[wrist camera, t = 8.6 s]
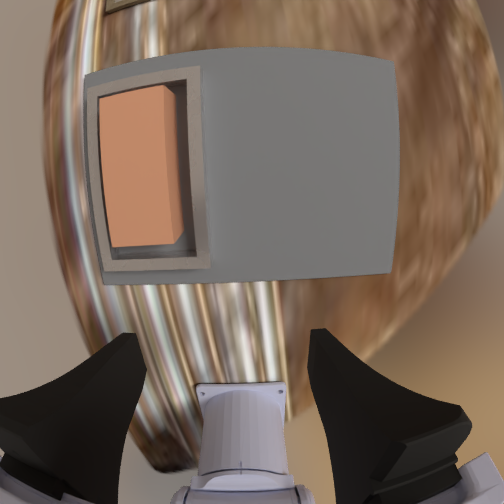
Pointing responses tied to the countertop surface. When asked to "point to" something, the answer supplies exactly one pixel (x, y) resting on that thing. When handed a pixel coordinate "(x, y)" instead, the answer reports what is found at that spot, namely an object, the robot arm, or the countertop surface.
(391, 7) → the countertop surface
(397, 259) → the countertop surface
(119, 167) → the tall peach block
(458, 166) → the countertop surface
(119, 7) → the framed mirror
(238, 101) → the mat
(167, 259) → the tray frame
